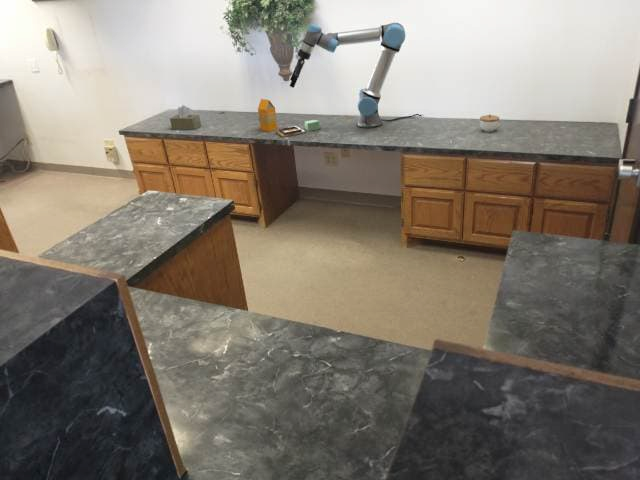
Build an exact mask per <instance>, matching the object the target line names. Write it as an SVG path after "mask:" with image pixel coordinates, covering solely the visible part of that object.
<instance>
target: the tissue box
mask: <svg viewBox="0 0 640 480" xmlns="http://www.w3.org/2000/svg"><path fill="white" fill-rule="evenodd" d="M192 111H193V110H192V108H190V107H187V106H186V105H184V104H182V105H181V106H179V107H178V108H177V114H176V115H174V116H171V117H170V118H169V121H170V127H171V130H181V131H182V130H183V131H184V130H186V131H188V130H189V131H190V130H191V131H192V130H193V131H194V130H197V129H198V128H200V127H202V124H201V118H200V114H191V113H192Z"/></svg>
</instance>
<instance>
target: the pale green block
mask: <svg viewBox="0 0 640 480" xmlns="http://www.w3.org/2000/svg"><path fill="white" fill-rule="evenodd" d="M320 127H321V126H320V120H317V119H310V120H306V121H305V120H304V130H305V131H307V132H311V131H316V130H320Z"/></svg>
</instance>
